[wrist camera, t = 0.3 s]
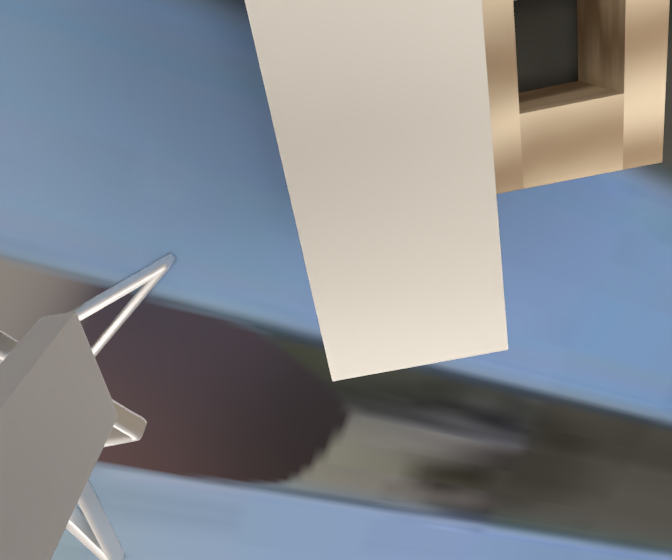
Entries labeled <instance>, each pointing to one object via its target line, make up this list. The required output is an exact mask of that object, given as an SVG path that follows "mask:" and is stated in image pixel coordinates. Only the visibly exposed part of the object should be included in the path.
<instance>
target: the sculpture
mask: <svg viewBox="0 0 672 560" xmlns="http://www.w3.org/2000/svg"><path fill="white" fill-rule="evenodd" d="M174 260H175V257H174V256H173V254H172V253H169V254H168V255H166V256H164V257H163V258H161V259H159V260H157V261H156V262H154V263H152V264H151V265H149V266H147V267H145V268H144V269H142V270H140V271H139V272H137V273H135V274H133V275H132V276H130V277H128V278H127V279H125V280H123V281H121V282H120V283H118V284H116V285H115V286H113V287H111V288H109V289H107V290H106V291H104V292H102V293H101V294H99V295H97V296H95V297H94V298H92V299H90V300H88V301H87V302H85V303H83V304H82V305H80V306H78V307H77V308H75V309H73V310H71V311H70V312H74V311H76V313H77V315H78V318H79V320H80V321H81V320H83V319H85V318H86V317H88V316H90V315H91V314H93V313H95V312H97V311H98V310H100V309H102V308H104V307H105V306H107V305H109V304H110V303H112V302H114V301H116V300H117V299H119V298H121V297H123V296H124V295H126V294H128V293H130V292H131V291H133V290H135V289H136V288H138V287H140V286H141V288H140V289H139V290H138V291H137V292H136V294H135V295H134V296H133V297H132V299H131V300H130V301H129V302H128V303H127V305H126V306H125V307H124V308H123V309H122V311H121V312H120V313H119V314H118V315H117V317H116V318H115V319H114V320H113V321H112V323H111V324H110V325H109V326H108V328H107V329H106V330H105V331H104V332H103V334H102V335H101V336H100V337H99V338H98V340H97V341H96V342H95V343H94V344H93V346H92V347H91V350H92V352H93V354H94V357H95V356H96V355H97V354H98V353H99V352H100V350H101V349H102V348H103V347H104V346H105V345H106V343H107V342H108V341H109V340H110V339H111V337H112V336H113V335H114V334H115V332H116V331H117V330H118V329H119V328H120V326H121V325H122V324H123V323H124V322H125V321H126V320H127V318H128V317H129V316H130V315H131V313H132V312H133V311H134V310H135V309H136V307H137V306H138V305H139V304H140V303H141V302H142V300H143V299H144V298H145V297H146V296H147V294H148V293H149V292H150V291H151V290H152V289H153V287H154V286H155V285H156V284H157V283H158V281H159V280H160V279H161V278H162V277H163V275H164V274H165V273H166V272H167V271H168V269H169V268H170V267H171V265H172V264H173V262H174ZM20 341H21V340H20ZM20 341H18V340H16V339H15V338H13V337H11V336H10V335H8V334H6V333H5V332H3V331H2V330H0V364H1V362H2V361H3V360H4V359H5V358H6V357H7V356H8V354H9V353H10V352H11V351H12V350H13V349H14V347H15V346H16V345H17V344H18V343H19V342H20ZM112 401H113V403H114V406H115V408H116V411H117V413H118V417H117V419H116V421H115V424H114V426H113V428H112V430H111V432H110V434H109V436H108V439H107V441H106V443H105V445H104V447H107V446H112V445H117V444H123V443H127V442H133V441H138V440H140V439H141V437H142V435H143V432H144V430H145V427H146V424H147V421H146V420H145V419H144V418H143V417H142V416H140V415H138V414H136V413H134V412H133V411H131V410H129V409H128V408H126V407H124V406H123V405H121V404H119V403H118V402H116V401H115V400H113V399H112ZM78 504H79V506H80V507H81V509H82V511H83V512H82V511H81V510H80V509H79V508H78V507H77V506H76V507H75V509H74V511H73V513H72V515H71V517H70V519H69V522H68V524H67V526H66V529H68V530H69V531H70V532H71V533H72V534H73V535H74V536H75V537H76V538H77V539H78V540H80V541H81V542H82V543H83V544H84V545H85V546H86V547H87V548H88V549H89V550H90V551H91V552H93V553H94V554H95V555H96V556H97V557H98V558H99V559H100V560H123V557H124V554H125V553H124V550H123V549H122V547H121V545H120V543H119V541H118V539H117V537H116V534H115V532H114V530H113V528H112V526H111V524H110V522H109V520H108V518H107V516H106V514H105V512H104V510H103V508H102V506H101V504H100V502H99V500H98V498H97V496H96V494H95V492H94V490H93V488H92V486H91V484H90V482H89V480H88V481H87V483H86V485H85V487H84V490H83V492H82V494H81V496H80V498H79V500H78Z"/></svg>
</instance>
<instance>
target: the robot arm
mask: <svg viewBox="0 0 672 560" xmlns="http://www.w3.org/2000/svg"><path fill="white" fill-rule="evenodd" d="M117 417H118V413H117V411H116V408H115V406H114V403H113V401H112V398H111V396H110V394H109V391H108V389H107V386H106V384H105V382H104V379H103V376H102V374H101V372H100V369H99V367H98V364H97V362H96V359H95V357H94V354H93V352H92V350H91V347H90V345H89V342H88V340H87V338H86V335H85V333H84V330H83V328H82V325H81V323H80V320H79V318H78V315H77V313H76V311H74V312H68V313H63V314H57V315H51V316H46V317H41V318H40V319H39V320H38V321H37V322H36V323H35V324H34V326H33V327H32V328H31V329H30V330H29V331H28V333H27V334H26V335H25V336H24V337H23V338H22V339H21V341H20V342H19V343H18V344H17V345H16V346H15V347H14V349H13V350H12V351H11V352H10V353H9V354H8V356H7V357H6V358H5V359H4V360H3V361H2V362H1V364H0V560H51V558H52V556H53V553H54V551H55V549H56V547H57V545H58V543H59V541H60V539H61V536H62V534H63V532H64V530H65V528H66V526H67V524H68V522H69V519H70V517H71V515H72V513H73V511H74V509H75V507H76V504H77V502H78V500H79V498H80V496H81V494H82V492H83V490H84V487H85V485H86V483H87V481H88V479H89V477H90V475H91V473H92V470H93V468H94V466H95V464H96V462H97V460H98V458H99V456H100V453H101V451H102V449H103V447H104V445H105V443H106V441H107V439H108V436H109V434H110V432H111V430H112V428H113V426H114V424H115V421H116V419H117Z"/></svg>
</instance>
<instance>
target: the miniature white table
mask: <svg viewBox="0 0 672 560" xmlns="http://www.w3.org/2000/svg"><path fill="white" fill-rule="evenodd" d="M245 4H246V8H247V13H248V17H249V21H250V26H251V30H252V34H253V39H254V43H255V47H256V52H257V56H258V61H259V65H260V69H261V74H262V78H263V82H264V87H265V91H266V95H267V100H268V104H269V108H270V113H271V117H272V121H273V126H274V130H275V134H276V139H277V143H278V147H279V152H280V156H281V160H282V165H283V169H284V173H285V178H286V182H287V186H288V191H289V195H290V200H291V204H292V208H293V213H294V217H295V221H296V226H297V230H298V234H299V239H300V243H301V247H302V252H303V256H304V260H305V265H306V269H307V273H308V278H309V282H310V286H311V291H312V295H313V299H314V304H315V308H316V312H317V317H318V321H319V326H320V330H321V334H322V339H323V343H324V347H325V352H326V356H327V360H328V365H329V369H330V373H331V378H332V381H337V380H343V379H348V378H354V377H359V376H365V375H370V374H376V373H381V372H387V371H392V370H398V369H404V368H409V367H415V366H420V365H426V364H431V363H437V362H442V361H448V360H453V359H459V358H465V357H470V356H476V355H481V354H487V353H492V352H498V351H503V350H508V340H507V327H506V314H505V301H504V288H503V275H502V262H501V249H500V236H499V222H498V209H497V196H496V183H495V170H494V157H493V144H492V131H491V118H490V105H489V92H488V79H487V66H486V52H485V39H484V26H483V13H482V0H245Z"/></svg>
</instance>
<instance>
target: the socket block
mask: <svg viewBox="0 0 672 560" xmlns="http://www.w3.org/2000/svg"><path fill="white" fill-rule="evenodd" d="M513 1H515V0H482V13H483V26H484V39H485V52H486V66H487V79H488V92H489V105H490V118H491V131H492V144H493V157H494V170H495V183H496V194H499V193H504V192H509V191H514V190H519V189H525V188H530V187H535V186H540V185H545V184H551V183H556V182H561V181H566V180H572V179H577V178H582V177H587V176H592V175H598V174H603V173H608V172H613V171H618V170H624V169H629V168H634V167H639V166H644V165H650V164H655V163H660V162H662V155H663V133H664V111H665V89H666V67H667V45H668V23H669V1H670V0H577V44H578V81H574V82H569V83H564V84H559V85H554V86H549V87H544V88H539V89H534V90H529V91H524V92H519V93H518V78H517V60H516V42H515V24H514V6H513Z"/></svg>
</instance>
